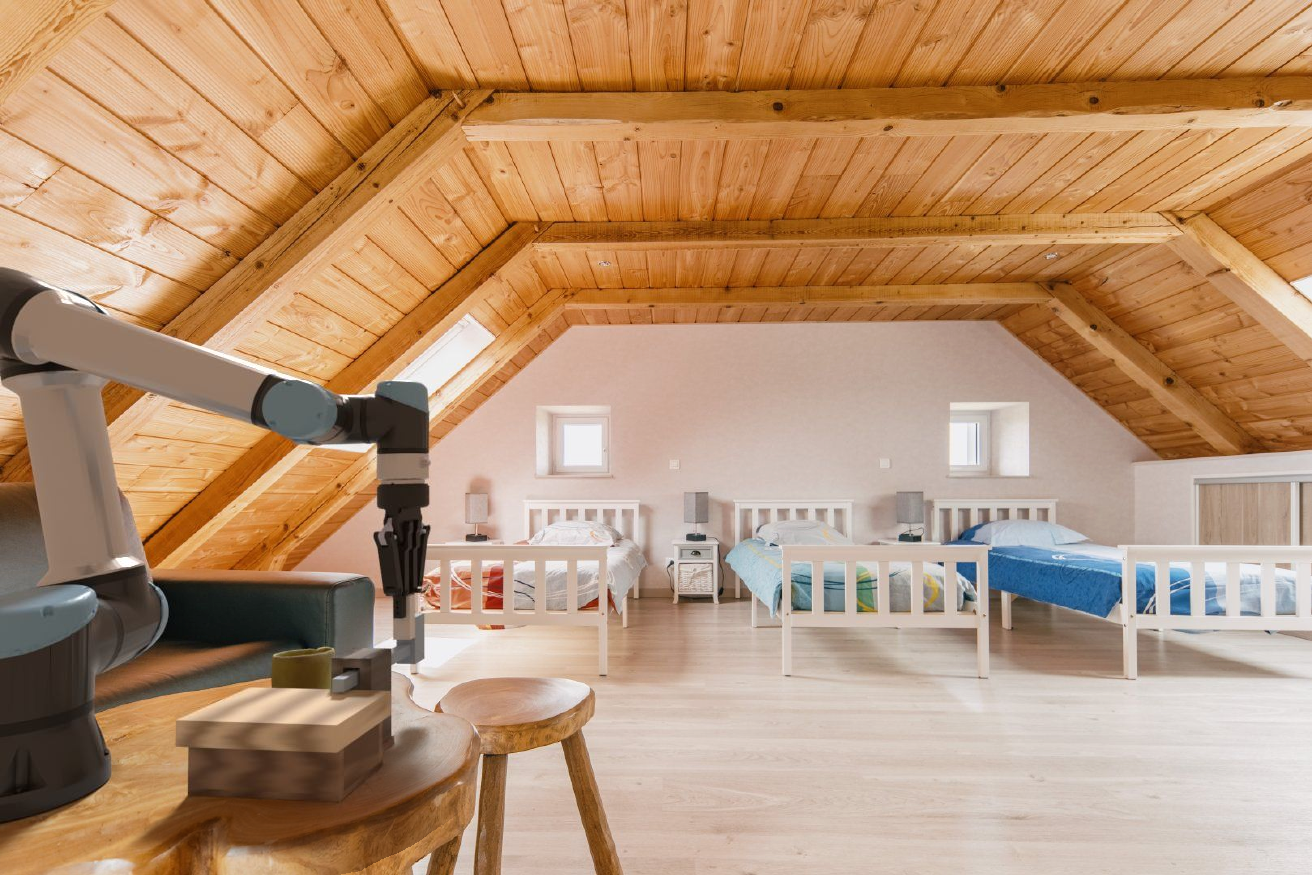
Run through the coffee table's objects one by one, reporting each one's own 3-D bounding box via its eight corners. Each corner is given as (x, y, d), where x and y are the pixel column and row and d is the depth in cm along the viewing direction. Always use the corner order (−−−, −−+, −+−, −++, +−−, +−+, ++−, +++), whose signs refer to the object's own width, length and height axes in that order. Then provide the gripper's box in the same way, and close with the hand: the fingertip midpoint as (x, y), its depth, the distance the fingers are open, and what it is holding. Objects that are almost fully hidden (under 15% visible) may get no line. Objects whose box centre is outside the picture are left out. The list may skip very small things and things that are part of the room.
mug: (311, 703, 102) (303, 638, 105) (256, 721, 103) (251, 656, 106) (365, 693, 113) (357, 634, 116) (315, 709, 115) (308, 651, 118)
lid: (175, 759, 76) (175, 720, 76) (249, 721, 87) (249, 687, 88) (336, 766, 73) (336, 725, 74) (391, 726, 85) (391, 690, 85)
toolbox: (187, 794, 77) (189, 683, 78) (282, 739, 93) (283, 646, 93) (339, 802, 75) (339, 686, 75) (410, 743, 90) (409, 648, 91)
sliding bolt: (327, 702, 84) (327, 647, 84) (406, 658, 104) (406, 613, 104) (349, 703, 84) (349, 647, 84) (424, 658, 103) (424, 613, 104)
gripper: (404, 482, 94) (405, 650, 93) (445, 480, 107) (447, 628, 106) (355, 483, 95) (355, 649, 94) (402, 481, 108) (403, 627, 107)
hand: (404, 638), depth 100 cm, fingers closed
